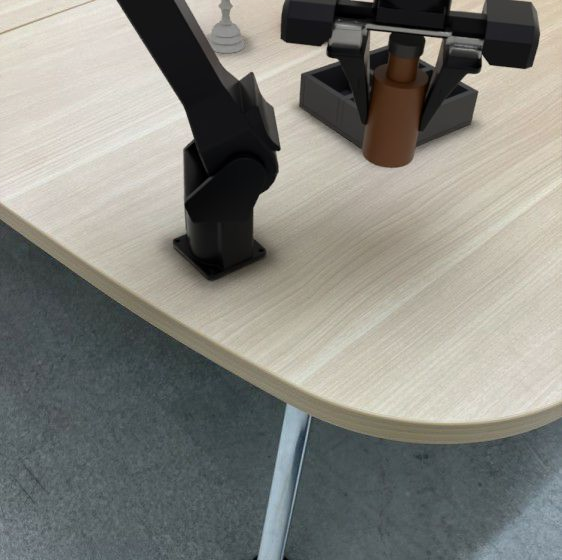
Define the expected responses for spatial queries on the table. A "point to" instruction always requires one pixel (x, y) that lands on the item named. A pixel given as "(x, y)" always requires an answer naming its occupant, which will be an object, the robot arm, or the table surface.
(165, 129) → the table surface
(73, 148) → the table surface
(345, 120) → the holder
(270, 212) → the table surface
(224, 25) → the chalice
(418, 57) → the spice bottle
